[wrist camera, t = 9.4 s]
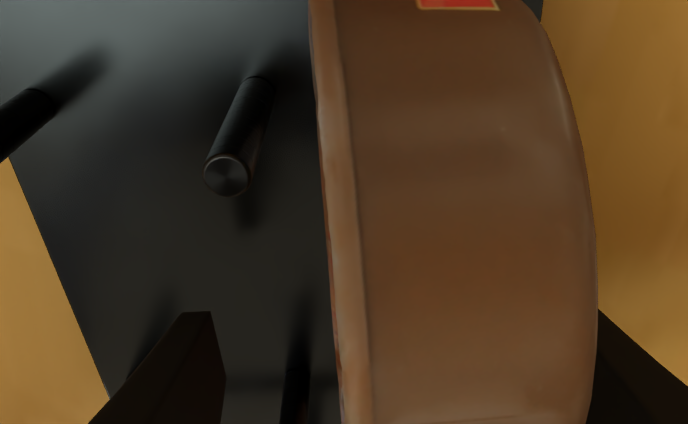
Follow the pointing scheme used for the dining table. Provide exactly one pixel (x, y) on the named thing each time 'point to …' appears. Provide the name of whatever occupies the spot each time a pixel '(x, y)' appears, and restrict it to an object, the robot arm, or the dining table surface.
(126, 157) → the rack
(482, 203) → the tin
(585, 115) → the dining table surface
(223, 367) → the robot arm
